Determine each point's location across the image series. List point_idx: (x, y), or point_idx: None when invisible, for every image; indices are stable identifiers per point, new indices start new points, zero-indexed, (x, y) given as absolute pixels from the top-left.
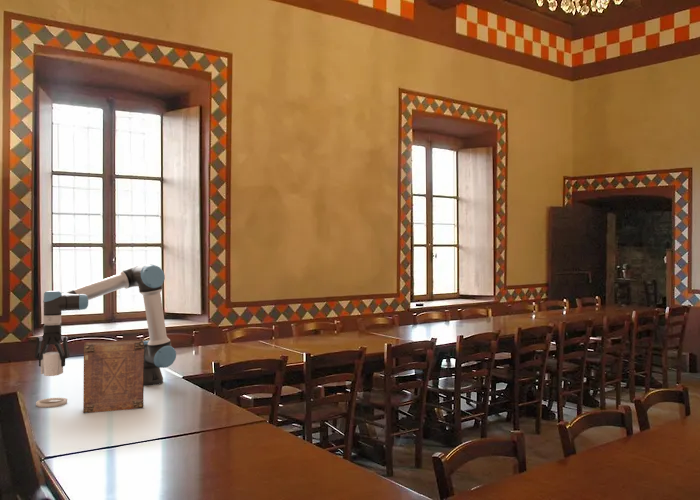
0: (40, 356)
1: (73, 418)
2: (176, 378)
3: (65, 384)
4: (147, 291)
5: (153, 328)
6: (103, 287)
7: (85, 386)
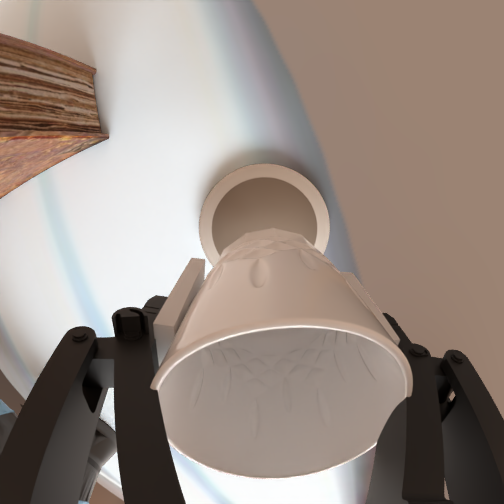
0: (421, 368)
1: (118, 9)
2: None
3: None
4: None
5: None
6: None
7: (28, 49)
